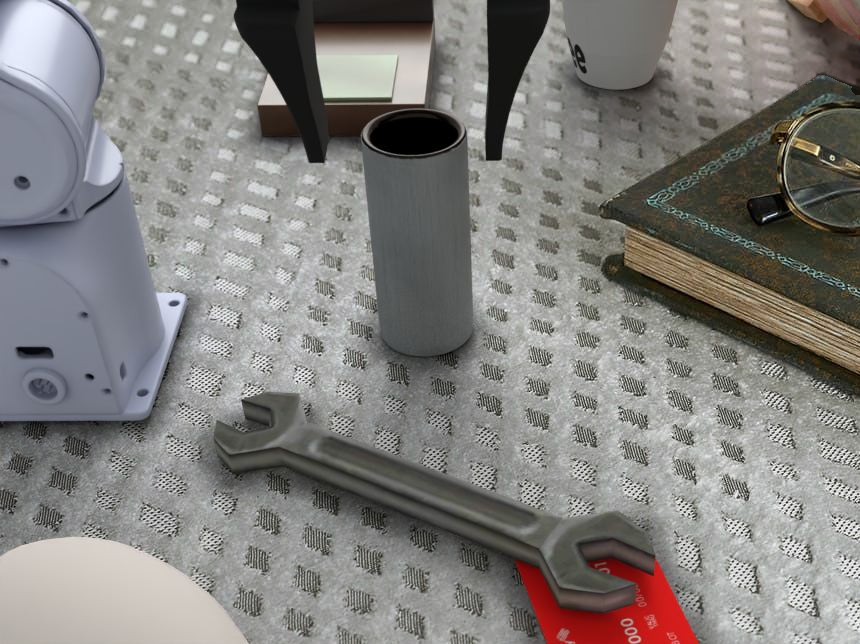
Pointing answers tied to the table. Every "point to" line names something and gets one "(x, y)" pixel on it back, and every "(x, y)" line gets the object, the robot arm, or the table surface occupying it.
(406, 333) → the grey hollow cylinder
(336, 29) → the box with green square
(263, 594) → the table surface
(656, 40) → the cup
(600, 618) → the credit card
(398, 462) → the wrench
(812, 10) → the planter
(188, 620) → the egg
